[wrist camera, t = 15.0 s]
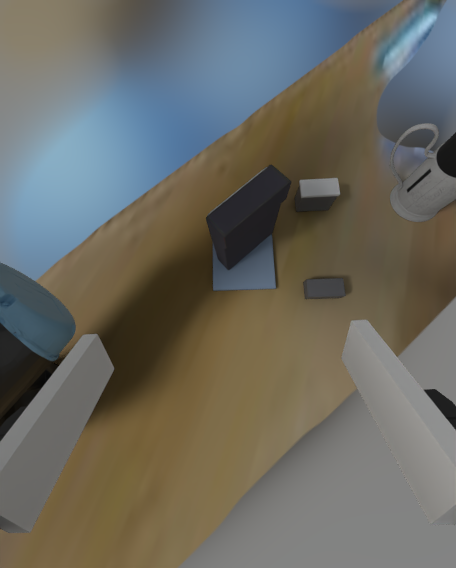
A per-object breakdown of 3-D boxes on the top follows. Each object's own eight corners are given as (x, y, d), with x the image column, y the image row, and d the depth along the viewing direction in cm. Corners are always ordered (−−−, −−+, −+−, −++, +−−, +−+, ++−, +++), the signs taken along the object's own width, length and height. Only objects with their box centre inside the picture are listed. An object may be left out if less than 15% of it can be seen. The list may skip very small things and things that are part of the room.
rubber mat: (213, 290, 41) (213, 290, 40) (213, 211, 45) (212, 209, 44) (275, 288, 40) (275, 288, 40) (269, 208, 44) (269, 206, 44)
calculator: (259, 220, 43) (267, 158, 28) (275, 235, 42) (292, 180, 28) (215, 257, 42) (200, 212, 27) (230, 273, 41) (224, 237, 26)
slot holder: (303, 299, 40) (312, 293, 35) (293, 197, 44) (299, 180, 40) (341, 298, 39) (355, 292, 34) (327, 195, 44) (337, 177, 39)
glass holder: (436, 227, 41) (541, 166, 27) (356, 207, 43) (414, 139, 29) (442, 187, 43) (544, 109, 29) (365, 169, 45) (424, 87, 30)
